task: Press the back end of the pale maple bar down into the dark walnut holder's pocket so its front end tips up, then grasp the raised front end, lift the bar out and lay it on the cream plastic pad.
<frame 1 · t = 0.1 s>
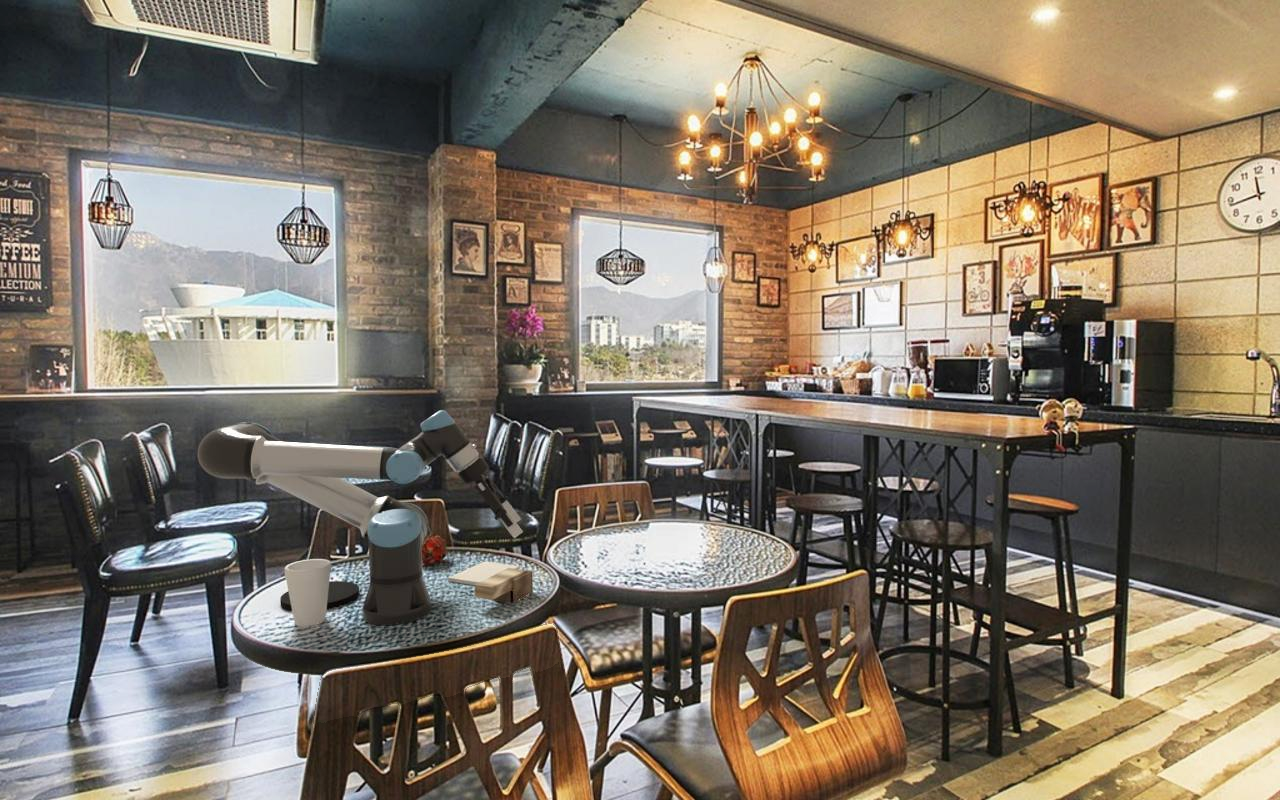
hand: (517, 528, 178), 15 cm above the table, tool tilted 35°, fingers open, 13 cm apart
dragon fruit: (432, 563, 199), on the table
cream pad: (484, 575, 187), on the table
foam cup: (310, 621, 155), on the table
maple bar: (501, 589, 167), point 3 cm above the table, touching walnut holder
wireless charger: (320, 601, 170), on the table
walnut holder: (501, 601, 167), on the table
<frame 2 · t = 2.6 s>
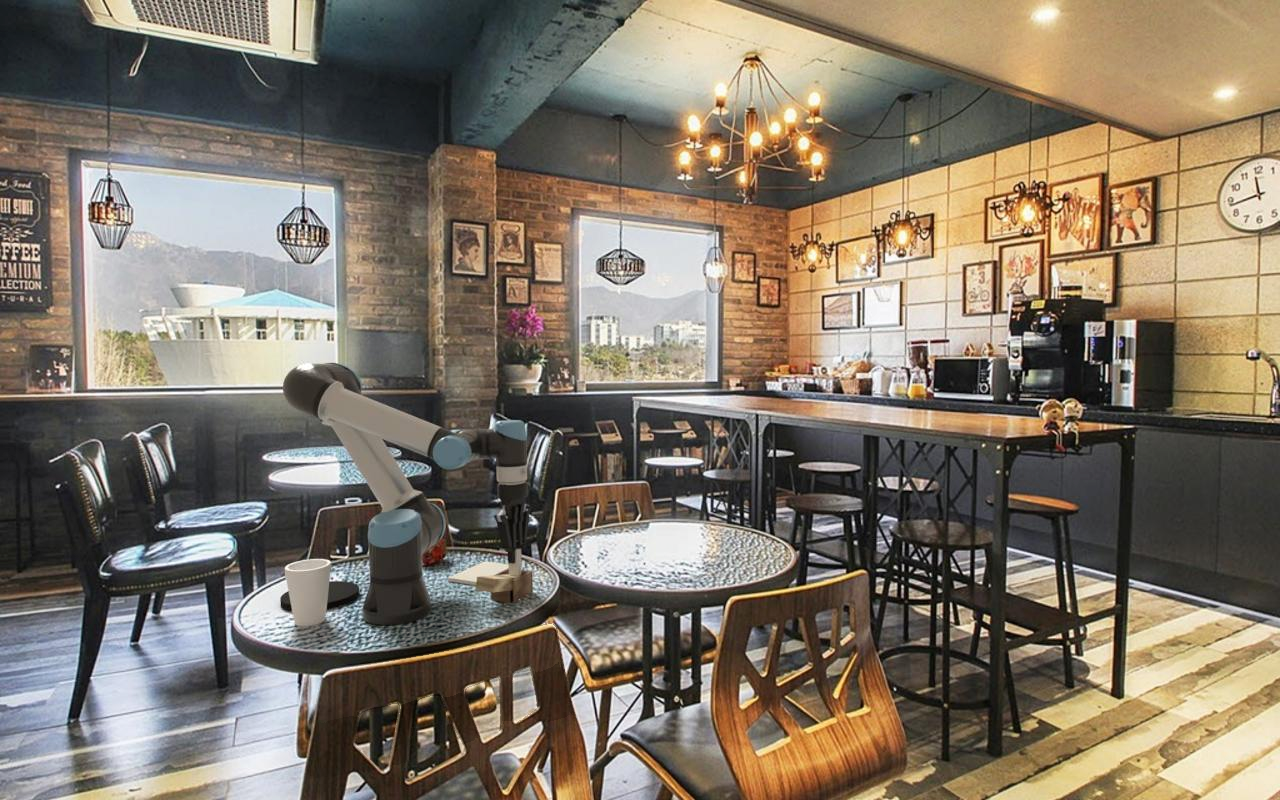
hand: (515, 574, 171), 5 cm above the table, tool pointing down, fingers closed
maple bar: (501, 589, 167), point 3 cm above the table, tilted 14°, touching gripper, walnut holder
everything else where it was.
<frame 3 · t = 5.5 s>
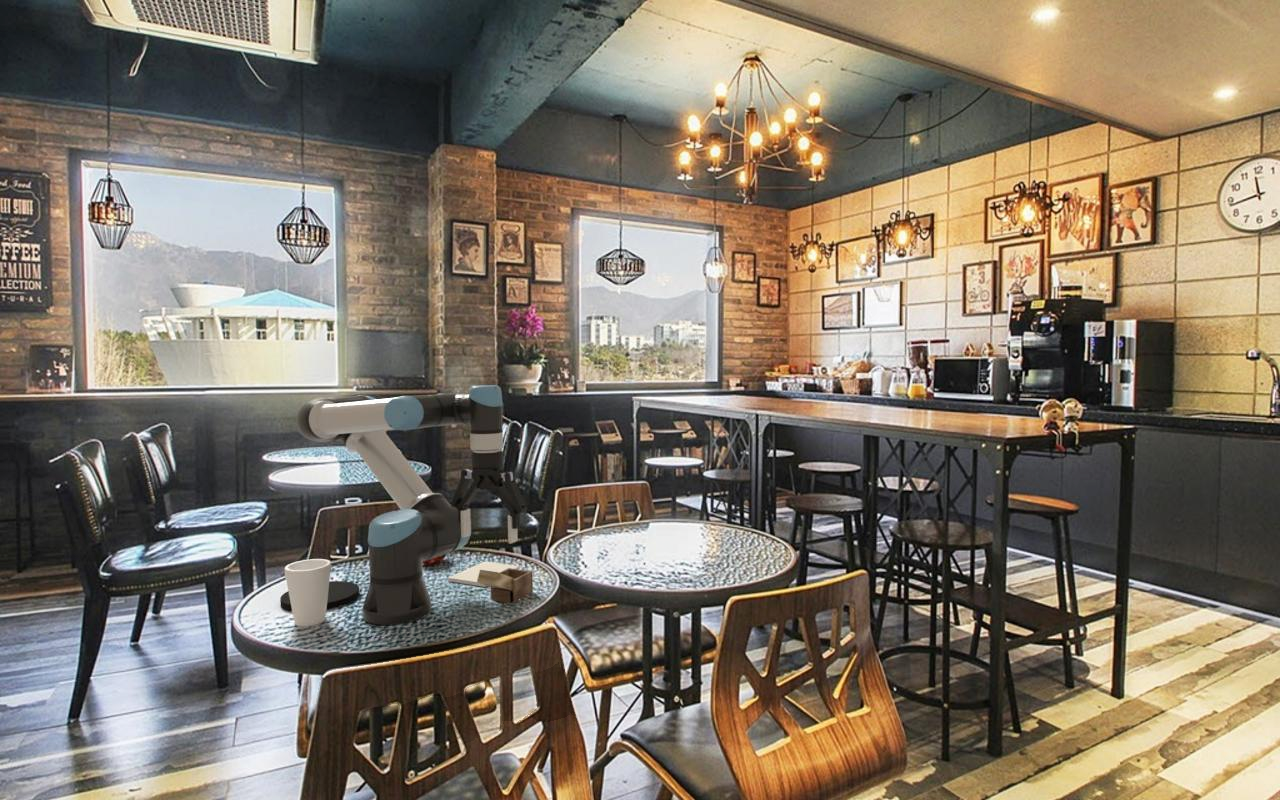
hand: (489, 539, 162), 17 cm above the table, tool pointing down, fingers open, 13 cm apart
maple bar: (501, 588, 166), point 3 cm above the table, tilted 27°, touching walnut holder
everything else where it was.
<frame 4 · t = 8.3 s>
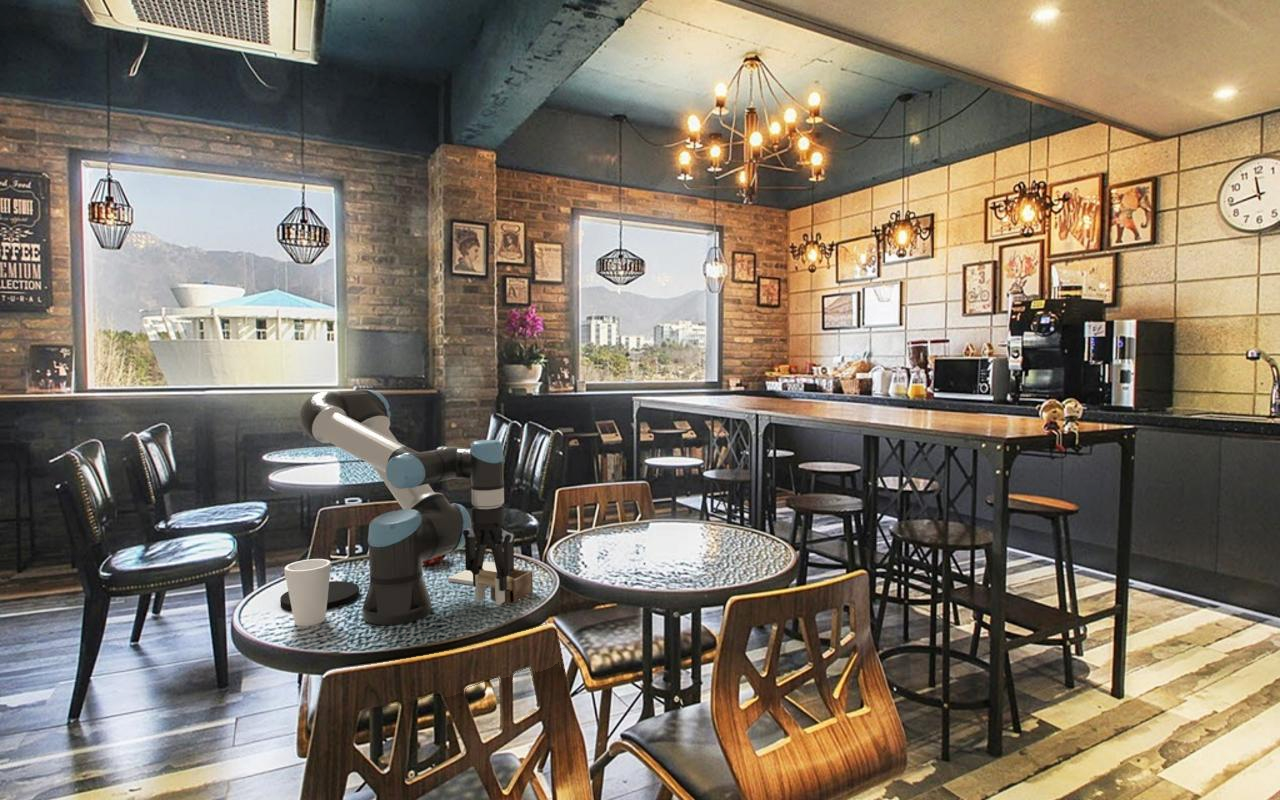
hand: (490, 601, 163), 1 cm above the table, tool pointing down, fingers closed on maple bar, 5 cm apart
maple bar: (501, 588, 166), point 3 cm above the table, tilted 27°, touching gripper, walnut holder
everything else where it was.
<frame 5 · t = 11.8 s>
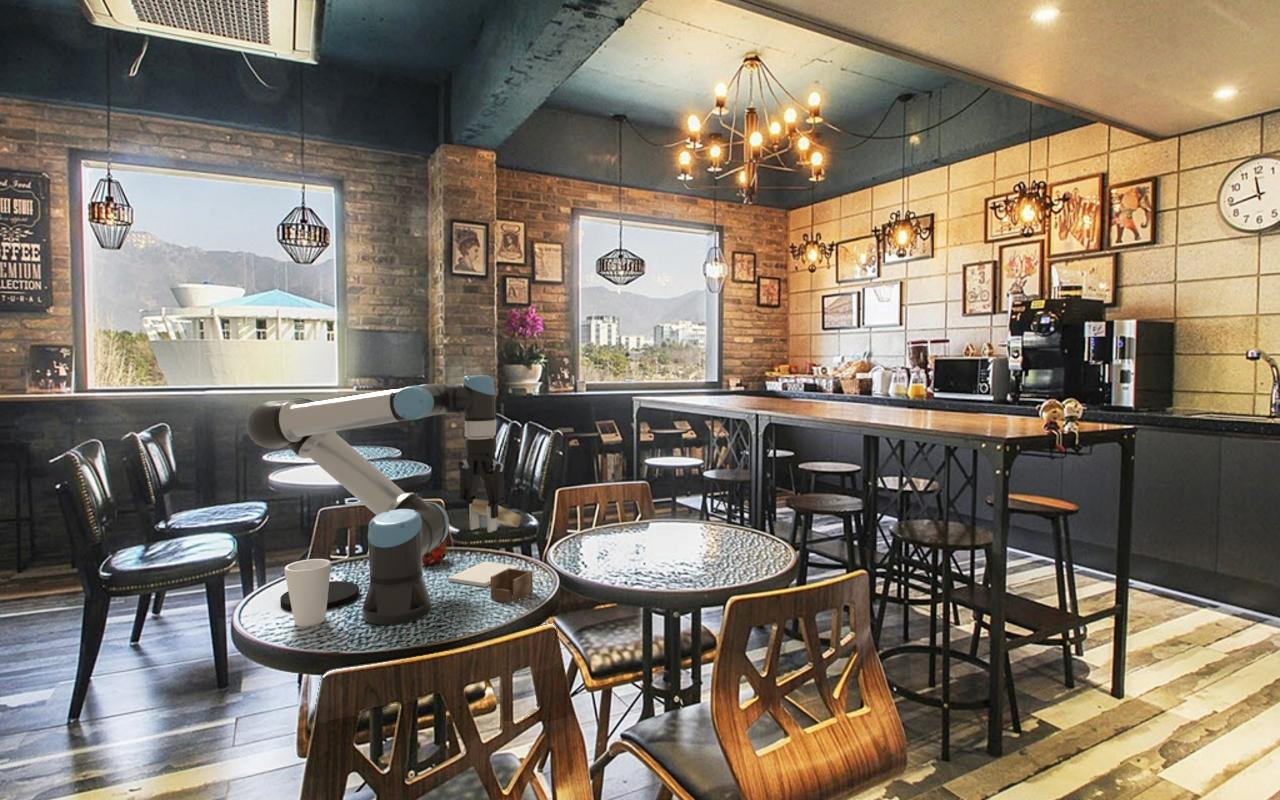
hand: (483, 529, 170), 17 cm above the table, tool pointing down, fingers closed on maple bar, 5 cm apart
maple bar: (494, 519, 174), point 19 cm above the table, tilted 27°, touching gripper
everything else where it was.
when the fingers open (5 cm above the table, at t = 15.5 s): maple bar drops 5 cm, resting on cream pad.
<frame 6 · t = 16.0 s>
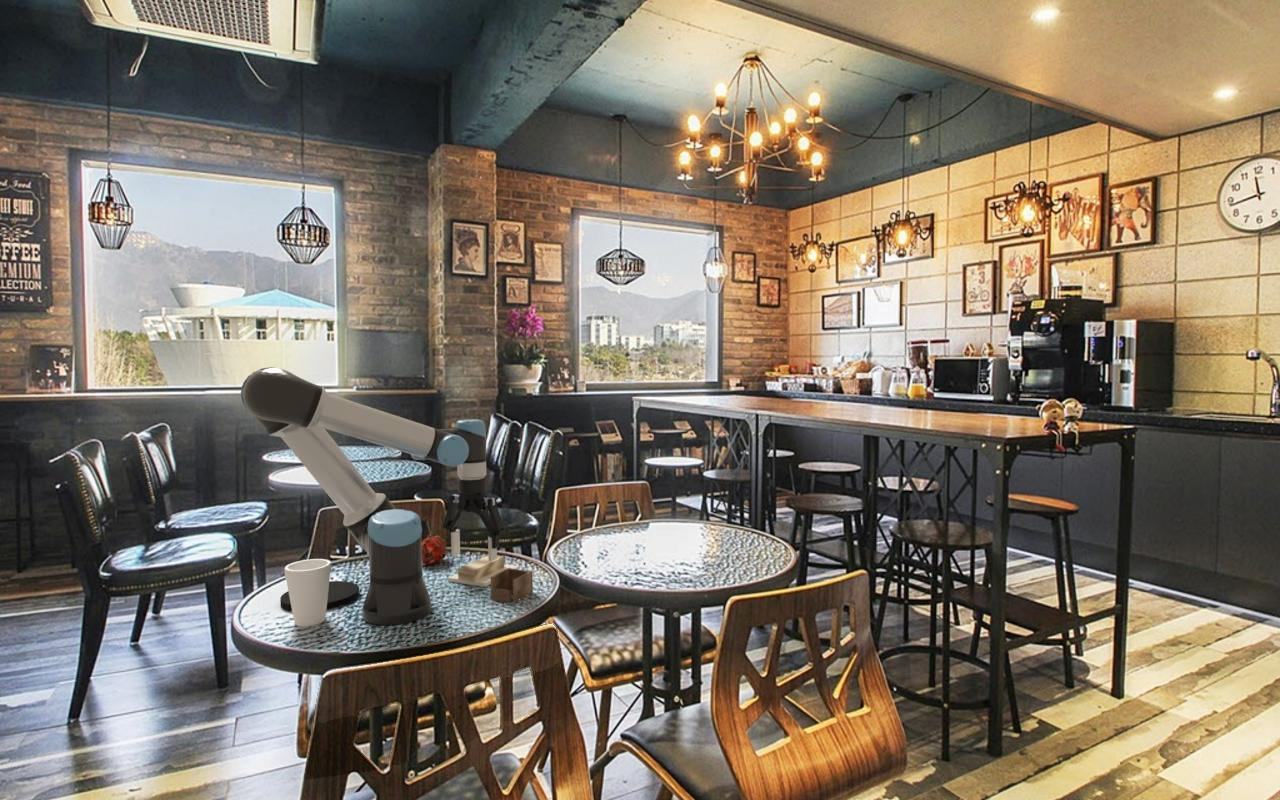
hand: (474, 557, 183), 6 cm above the table, tool pointing down, fingers open, 11 cm apart
maple bar: (482, 573, 186), point 1 cm above the table, touching cream pad
everything else where it was.
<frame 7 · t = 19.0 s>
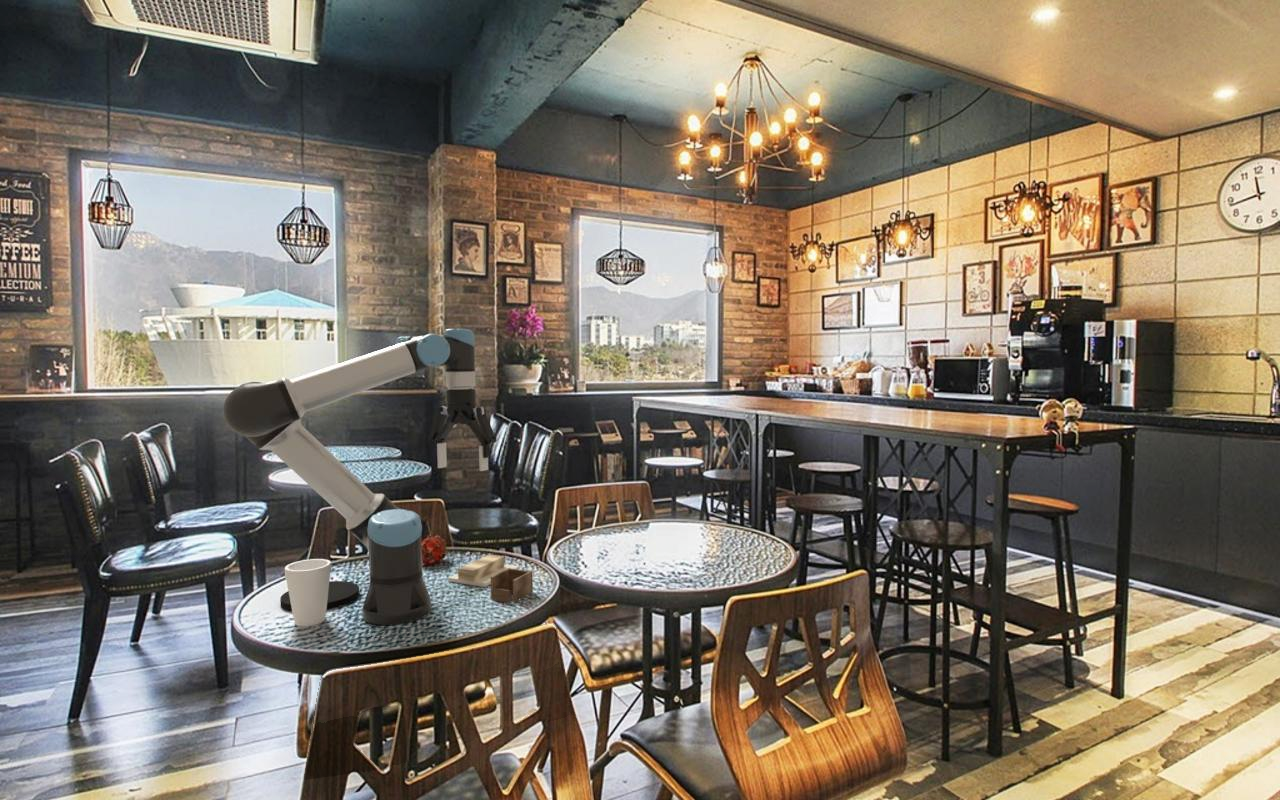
hand: (462, 469, 179), 31 cm above the table, tool pointing down, fingers open, 13 cm apart
nothing on the table moved.
at the end: maple bar inside the target area on the cream pad (1.2 cm from its centre), point 1.0 cm above the cream pad's base; maple bar touching cream pad; the gripper is holding nothing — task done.
